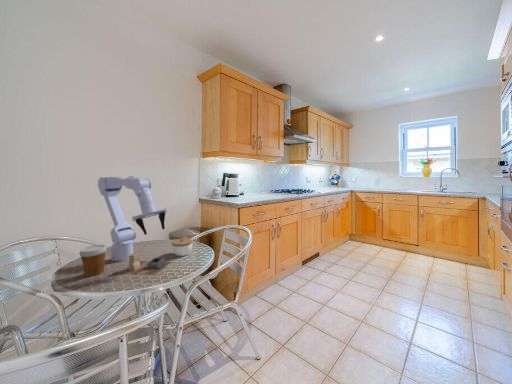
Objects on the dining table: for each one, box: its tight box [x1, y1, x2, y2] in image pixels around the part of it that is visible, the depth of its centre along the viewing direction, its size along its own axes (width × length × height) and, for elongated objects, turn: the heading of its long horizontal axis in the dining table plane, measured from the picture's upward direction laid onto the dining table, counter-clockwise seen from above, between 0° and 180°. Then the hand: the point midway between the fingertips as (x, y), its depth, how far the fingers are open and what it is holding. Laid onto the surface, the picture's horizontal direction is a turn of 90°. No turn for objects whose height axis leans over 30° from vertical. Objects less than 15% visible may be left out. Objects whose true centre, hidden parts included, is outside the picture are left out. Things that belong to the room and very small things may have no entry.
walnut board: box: [116, 260, 172, 276], centre depth 100 cm, size 18×14×1 cm
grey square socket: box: [145, 257, 168, 269], centre depth 101 cm, size 7×7×3 cm
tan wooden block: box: [128, 251, 141, 271], centre depth 98 cm, size 2×4×7 cm, turn 176°
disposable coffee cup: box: [78, 244, 108, 278], centre depth 94 cm, size 10×10×12 cm
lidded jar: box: [171, 237, 193, 257], centre depth 117 cm, size 11×11×9 cm
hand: (154, 231), depth 98 cm, fingers open, 7 cm apart
